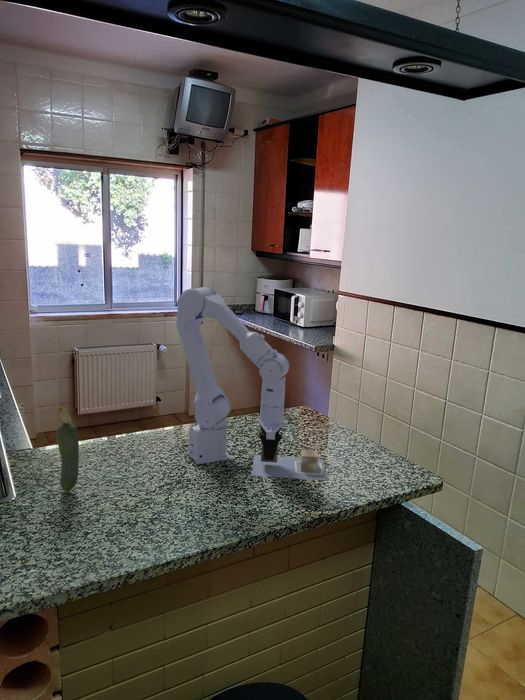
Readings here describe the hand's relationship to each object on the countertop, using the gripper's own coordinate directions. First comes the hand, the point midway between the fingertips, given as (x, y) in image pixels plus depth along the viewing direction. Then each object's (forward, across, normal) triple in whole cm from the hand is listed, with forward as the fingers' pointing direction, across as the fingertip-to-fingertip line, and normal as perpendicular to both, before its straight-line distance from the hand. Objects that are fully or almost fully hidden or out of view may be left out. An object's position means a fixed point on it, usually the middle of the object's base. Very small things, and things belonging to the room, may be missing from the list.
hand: (269, 455), depth 126 cm
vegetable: (+4, -19, +43) cm, 47 cm away
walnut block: (+1, 0, 0) cm, 1 cm away
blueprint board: (+3, 0, -5) cm, 6 cm away
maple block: (+3, 0, -10) cm, 10 cm away
